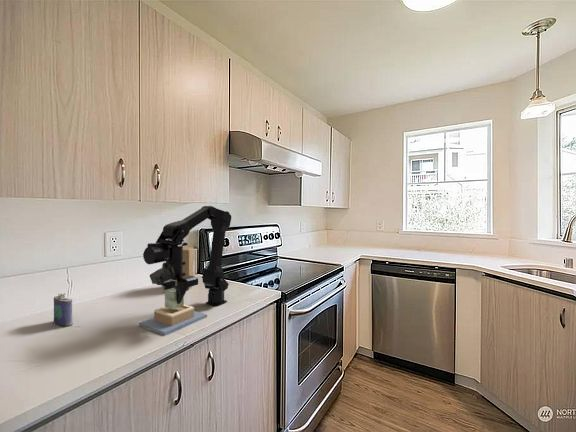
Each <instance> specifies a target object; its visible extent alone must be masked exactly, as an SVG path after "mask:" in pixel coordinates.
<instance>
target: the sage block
mask: <svg viewBox="0 0 576 432" xmlns="http://www.w3.org/2000/svg"><path fill="white" fill-rule="evenodd" d="M184 299H185V296H184V297H183V299H182V301H181V303H180V304H177V296H176V290H175V289H174V288H171V289H167V290H164V307H167V308H171V309H175V308H178V307H181V306H184V304H185V302H184V301H185V300H184Z"/></svg>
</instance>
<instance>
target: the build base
mask: <svg viewBox="0 0 576 432" xmlns="http://www.w3.org/2000/svg"><path fill="white" fill-rule="evenodd" d="M153 313H154V315H153V317H151V318H149V319H146V320H143V321H141V322H139V323H138V326H139V327H141V328H143V329H147V330H149V331H152V332H155V333H158V334H160V335H163V336H168V335H169V334H172V333H174V332H176V331H179V330H181V329H183V328H185V327H187V326H191V325H192V324H195V323H197V322H199V321H201V320H203V319H206V318H208V314H207V313H205V312H204V313H203V312H200V311H198V310H195V307H194V306H191V305H187V304H185V303H184V306H181V307H178V308H175V309H171V308H167V307H165V306H163V307H159V308H156V309H154V311H153Z"/></svg>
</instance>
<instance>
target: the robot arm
mask: <svg viewBox="0 0 576 432" xmlns="http://www.w3.org/2000/svg"><path fill="white" fill-rule="evenodd" d="M207 219H208V220H209V221H210V226H211V228H212V232H213V233H212V240H211V247H210V256H209V264H208V265H207V266H206V268H203V269H202V277H201V279H202V283H203V285H204V288H205V289H206V290H207V289H208V294H207V301H206V302H205V304H207V305H210V306H214V307H219V306H220V305H223V304H225V303H227V302H228V300H227V299H226V300H225V291H226V290H228V288H229V282H228V281H227V280H226V279H225V272H224V270H223V267H222V262H223V261H222V259H223V254H224V253H223V252H224V246H225V239H226V238H225V237H226V232H227V230H228V229H229V228H230V227H231V224H232V223H231V222H232V214H231V213H230V212H229V211H226V210H222V209H219V208H217V207H215V206H213V205H204V206H202V207H201V208H200V209H197V210H196V211H195V212H193V213H191V214H190V215H188V216H186V217H185V218H183V219H181V220H177V221H174V222H173V221H172V222H171V223H170V222H169V223H167V224H165V225H164V226H163V228H162V231H161V233H160V234H159V236H158V237H157V239H156V241H155V243H153V242H149V243H147V246H146V248H145V249H144V251H143V253H142V256H143V260H144V262H145V263H146V265H154V264H158V263H159V264H160V263H162V265H161V268H159V269H157V270H155V271H154V272H152V273H150V274H149V278H150V281H151V284H153V285H157V286H161V287H162V288H163V290H164V291H165V290H167V289H171V288H174V289H175V290H176V296H177V304H180V303H181V301H182V299H183V297H184V298H185V294H186V293H187V291H188V290H187V289H188V288H189V287H191V288H192V287H194V286H197V285H199V278H198V277H197V276H195V275H194V276H186V277H182V276H185V273H184V272H183V265H185V261H183V247H188V243H187V242H186V241H185V240H184V239H185V238H186V237H187V236H188V235H189V234H190V232H191V230H192V229H194V228H195V227H196V226H198V225H200V224H201V223H203V222H204V221H206V220H207ZM176 282H177V286H175V283H176Z"/></svg>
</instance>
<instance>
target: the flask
mask: <svg viewBox="0 0 576 432" xmlns="http://www.w3.org/2000/svg"><path fill="white" fill-rule="evenodd" d="M65 295H66V293H58V294H57V295H56V296H54V297H53V324H55V325H56V326H60V327H65V328H66V327H70V326H73V324H74V323H73V299H72V298H67V297H65Z"/></svg>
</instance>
